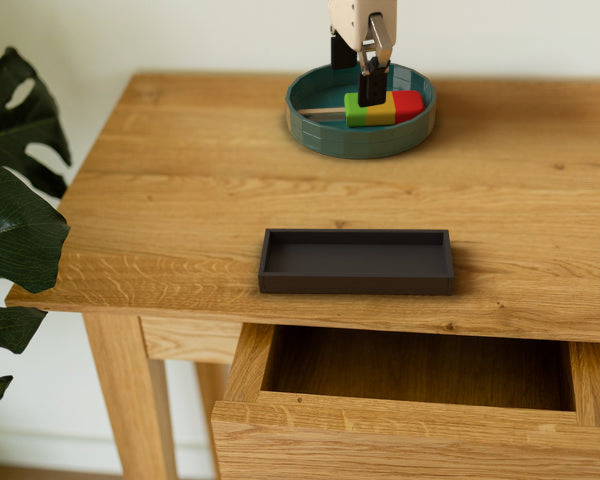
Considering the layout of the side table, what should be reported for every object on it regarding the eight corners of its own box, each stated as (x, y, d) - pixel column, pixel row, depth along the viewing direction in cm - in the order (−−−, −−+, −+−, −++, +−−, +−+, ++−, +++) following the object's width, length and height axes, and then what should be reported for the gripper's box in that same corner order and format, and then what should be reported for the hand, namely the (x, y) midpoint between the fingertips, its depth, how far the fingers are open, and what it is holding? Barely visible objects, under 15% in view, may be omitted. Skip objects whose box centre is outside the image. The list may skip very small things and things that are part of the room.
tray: (446, 246, 73) (448, 229, 72) (452, 295, 68) (454, 277, 67) (267, 245, 75) (265, 228, 73) (259, 292, 69) (257, 275, 68)
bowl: (432, 86, 97) (434, 60, 95) (436, 160, 84) (438, 132, 82) (295, 85, 99) (294, 59, 97) (279, 157, 86) (277, 130, 84)
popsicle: (425, 124, 89) (427, 110, 88) (298, 130, 90) (297, 116, 88) (419, 102, 93) (420, 88, 92) (297, 108, 94) (297, 94, 92)
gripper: (429, -48, 72) (415, 115, 83) (366, -98, 84) (362, 50, 96) (353, -38, 70) (350, 126, 82) (301, -90, 83) (305, 59, 94)
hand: (357, 85), depth 89 cm, fingers open, 9 cm apart
